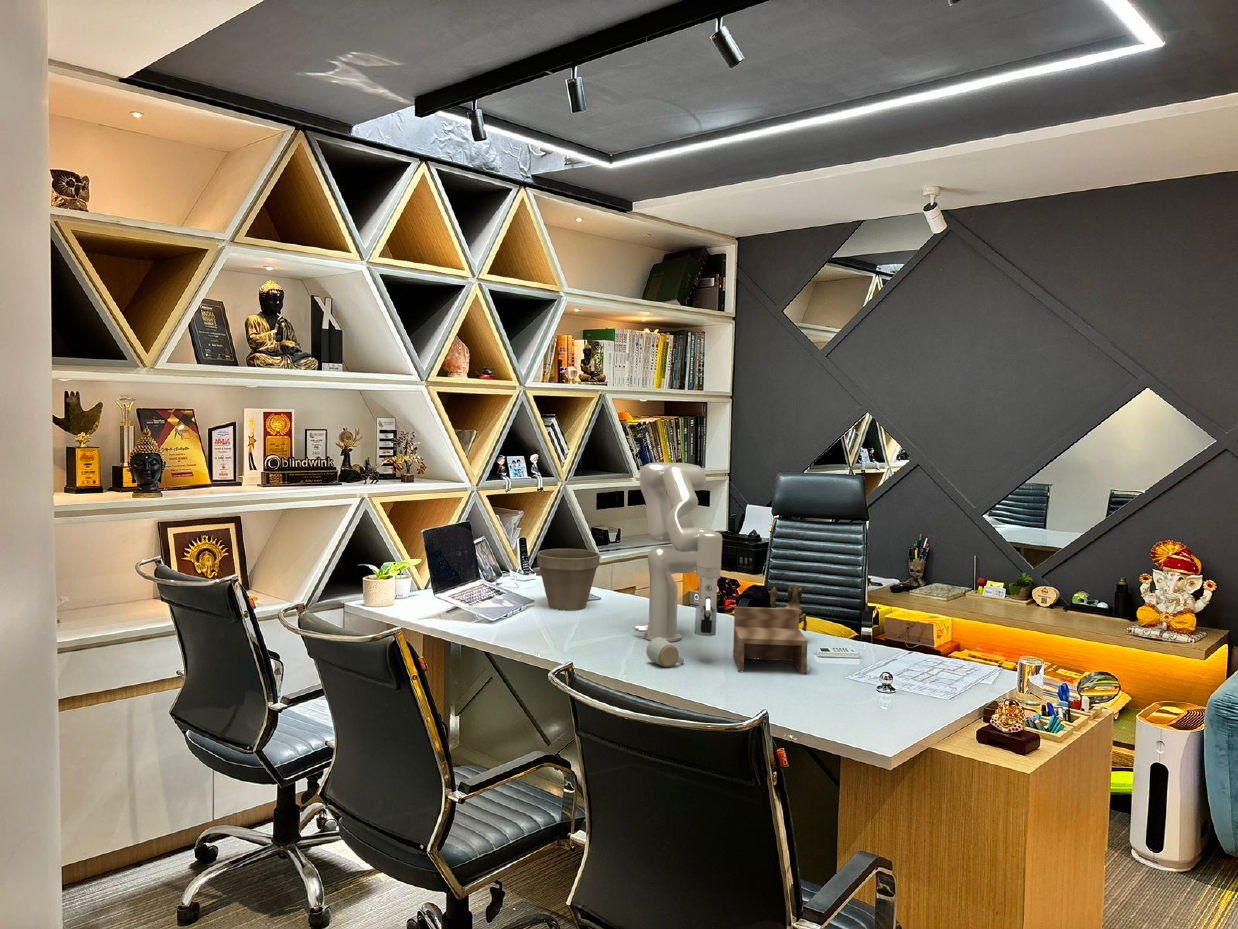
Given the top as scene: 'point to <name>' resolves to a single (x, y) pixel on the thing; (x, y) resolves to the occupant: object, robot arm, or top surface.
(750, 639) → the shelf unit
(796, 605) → the figurine
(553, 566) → the plant pot
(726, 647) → the top surface
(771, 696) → the top surface
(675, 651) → the ceramic mug
